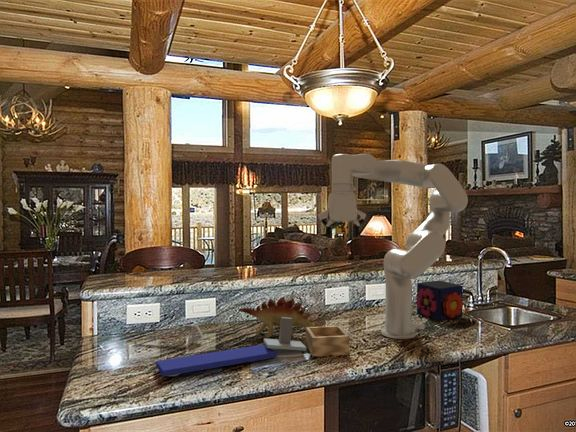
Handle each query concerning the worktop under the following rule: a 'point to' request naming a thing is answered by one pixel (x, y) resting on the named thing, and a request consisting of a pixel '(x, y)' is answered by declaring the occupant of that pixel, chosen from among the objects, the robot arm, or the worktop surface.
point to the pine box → (327, 341)
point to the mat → (287, 352)
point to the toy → (281, 315)
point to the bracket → (189, 327)
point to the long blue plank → (214, 360)
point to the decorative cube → (439, 300)
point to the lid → (285, 337)
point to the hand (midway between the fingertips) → (342, 237)
